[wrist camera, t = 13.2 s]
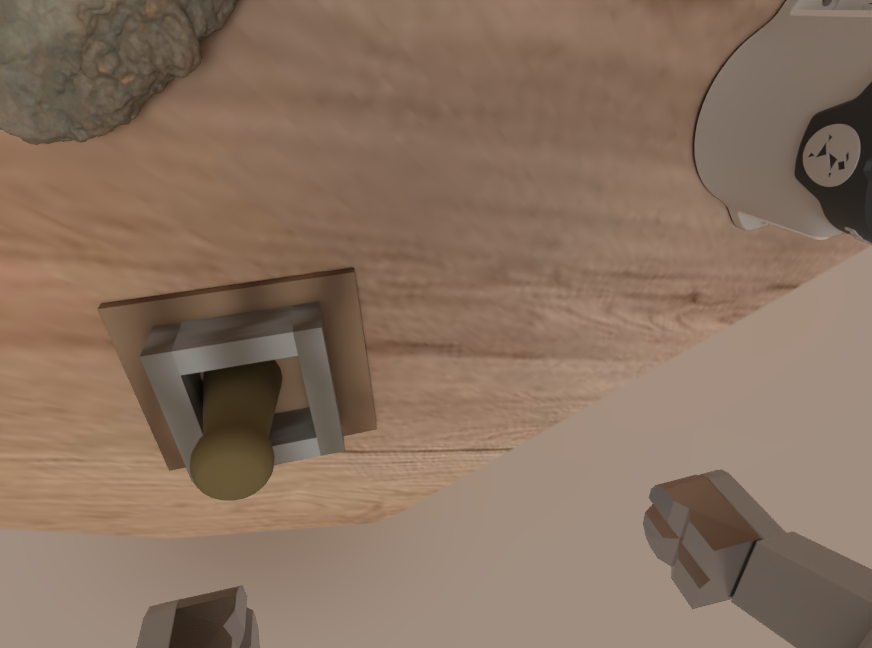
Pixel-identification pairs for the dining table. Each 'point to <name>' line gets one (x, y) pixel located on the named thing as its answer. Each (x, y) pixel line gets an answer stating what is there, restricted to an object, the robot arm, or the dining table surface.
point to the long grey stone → (94, 61)
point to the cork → (236, 430)
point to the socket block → (250, 359)
